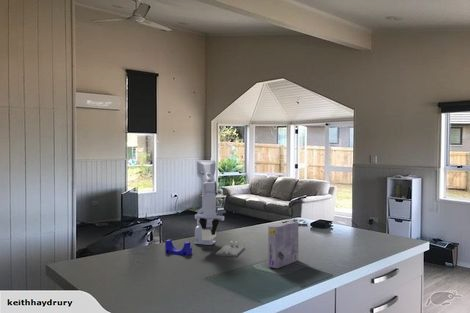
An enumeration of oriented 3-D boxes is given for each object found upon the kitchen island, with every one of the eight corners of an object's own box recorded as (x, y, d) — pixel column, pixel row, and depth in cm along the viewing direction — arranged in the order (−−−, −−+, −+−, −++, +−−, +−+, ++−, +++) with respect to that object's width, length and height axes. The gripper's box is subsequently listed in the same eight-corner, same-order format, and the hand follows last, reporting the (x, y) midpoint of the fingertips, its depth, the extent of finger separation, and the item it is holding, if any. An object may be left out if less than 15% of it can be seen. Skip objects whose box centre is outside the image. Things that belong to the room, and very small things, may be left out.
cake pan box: (290, 258, 189) (291, 219, 189) (300, 260, 186) (300, 221, 186) (266, 267, 175) (267, 226, 174) (276, 269, 171) (277, 227, 171)
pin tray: (215, 255, 193) (215, 247, 193) (225, 247, 209) (225, 240, 208) (236, 256, 190) (236, 249, 190) (244, 248, 206) (244, 241, 206)
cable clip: (191, 253, 196) (191, 241, 196) (186, 256, 192) (187, 243, 192) (170, 250, 201) (170, 238, 201) (165, 253, 197) (165, 240, 197)
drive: (201, 239, 195) (202, 229, 195) (208, 235, 204) (208, 225, 204) (209, 240, 194) (209, 229, 194) (216, 236, 203) (216, 226, 203)
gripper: (192, 206, 197) (192, 234, 197) (221, 208, 193) (221, 237, 193) (197, 204, 204) (197, 232, 204) (225, 206, 200) (225, 234, 200)
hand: (209, 234), depth 199 cm, fingers closed on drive, 4 cm apart
